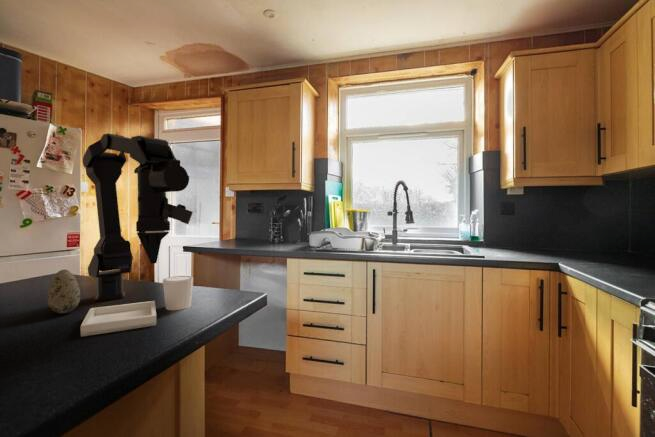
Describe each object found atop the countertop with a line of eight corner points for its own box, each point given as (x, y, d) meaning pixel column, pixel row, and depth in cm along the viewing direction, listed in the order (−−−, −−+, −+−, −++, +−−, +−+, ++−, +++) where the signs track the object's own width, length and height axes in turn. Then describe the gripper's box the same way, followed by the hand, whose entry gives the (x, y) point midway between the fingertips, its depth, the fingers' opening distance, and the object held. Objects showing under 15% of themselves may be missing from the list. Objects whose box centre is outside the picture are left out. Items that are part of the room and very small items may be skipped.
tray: (90, 317, 73) (90, 308, 73) (154, 309, 79) (154, 300, 79) (80, 336, 62) (80, 326, 62) (156, 325, 68) (156, 315, 68)
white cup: (156, 308, 80) (156, 279, 80) (180, 301, 86) (180, 274, 86) (175, 312, 77) (175, 282, 77) (199, 305, 83) (199, 277, 83)
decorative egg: (77, 307, 81) (76, 266, 80) (83, 312, 77) (82, 269, 77) (45, 313, 76) (44, 269, 76) (50, 319, 72) (49, 273, 72)
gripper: (194, 191, 72) (195, 263, 73) (185, 194, 89) (186, 253, 89) (135, 190, 67) (136, 268, 67) (137, 194, 83) (138, 256, 84)
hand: (153, 260), depth 77 cm, fingers open, 9 cm apart
